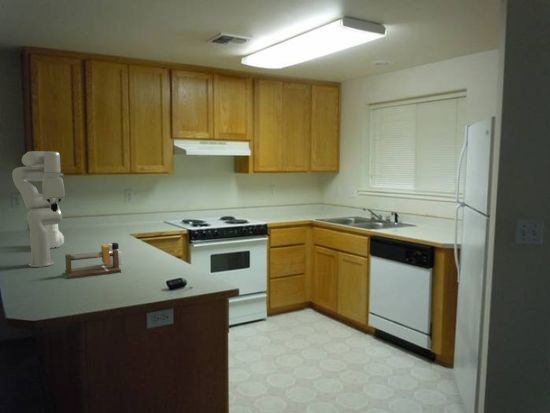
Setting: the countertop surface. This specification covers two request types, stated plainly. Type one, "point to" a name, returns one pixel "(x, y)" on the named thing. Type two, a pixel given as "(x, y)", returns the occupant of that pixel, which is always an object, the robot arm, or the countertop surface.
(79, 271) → the pipe stand
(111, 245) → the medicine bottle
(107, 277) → the countertop surface
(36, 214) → the robot arm
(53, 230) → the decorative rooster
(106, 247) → the collar
